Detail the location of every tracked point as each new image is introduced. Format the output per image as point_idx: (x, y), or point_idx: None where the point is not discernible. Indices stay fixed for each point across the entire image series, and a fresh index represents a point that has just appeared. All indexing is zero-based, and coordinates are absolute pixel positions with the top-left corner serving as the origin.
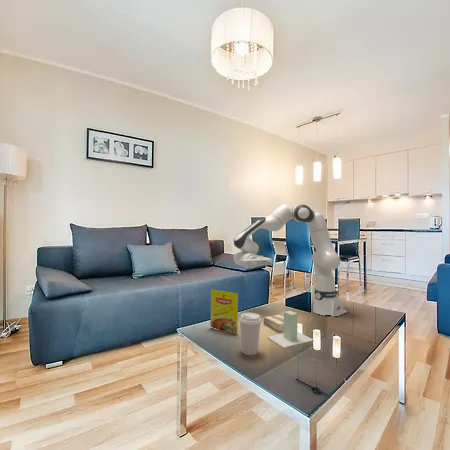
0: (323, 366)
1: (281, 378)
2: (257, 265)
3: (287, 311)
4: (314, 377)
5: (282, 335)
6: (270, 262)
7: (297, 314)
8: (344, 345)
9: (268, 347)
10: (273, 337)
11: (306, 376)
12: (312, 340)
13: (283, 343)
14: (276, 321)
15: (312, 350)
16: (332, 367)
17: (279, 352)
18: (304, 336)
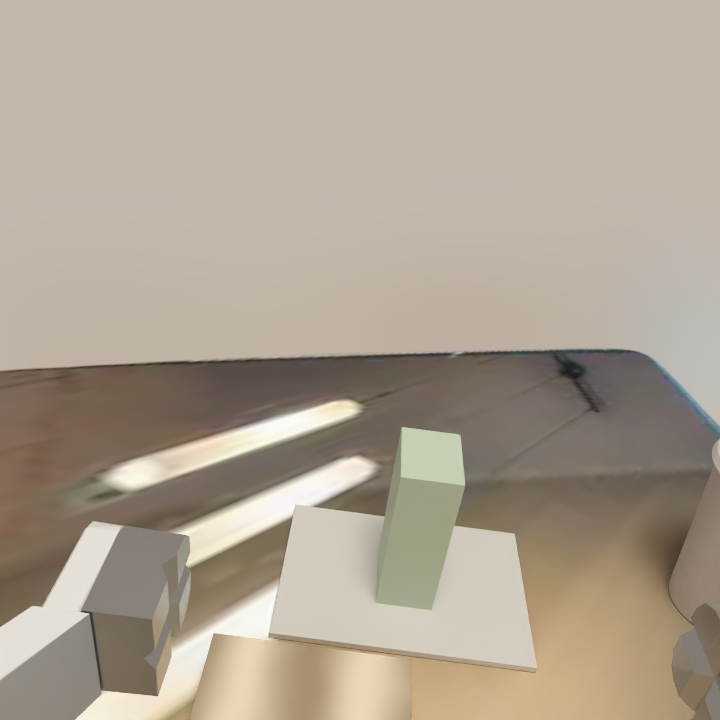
0: (455, 402)
1: (645, 431)
2: (680, 675)
3: (434, 476)
4: (534, 392)
5: (420, 628)
6: (139, 530)
7: (401, 430)
8: (213, 424)
9: (588, 583)
10: (497, 639)
11: (556, 403)
12: (305, 507)
13: (489, 558)
14: (373, 714)
15: (393, 467)
16: (431, 388)
17: (557, 526)
18: (301, 551)
